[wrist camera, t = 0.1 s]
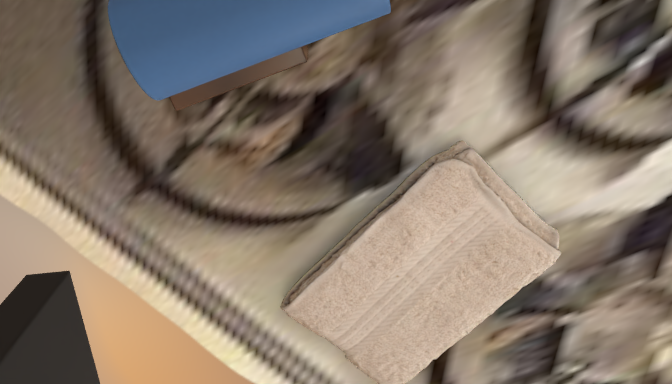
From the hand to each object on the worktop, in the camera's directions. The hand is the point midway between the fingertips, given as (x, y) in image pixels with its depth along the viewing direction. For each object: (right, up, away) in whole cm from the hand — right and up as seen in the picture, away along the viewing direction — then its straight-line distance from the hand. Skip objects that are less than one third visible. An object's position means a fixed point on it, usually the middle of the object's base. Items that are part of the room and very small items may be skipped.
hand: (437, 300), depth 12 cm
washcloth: (+4, -3, +35) cm, 36 cm away
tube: (-6, +12, +21) cm, 24 cm away
